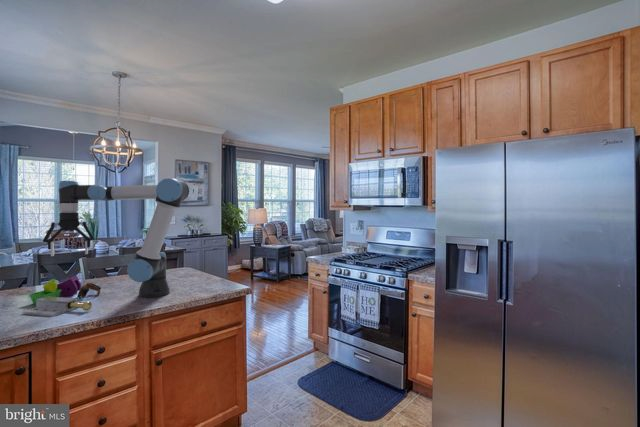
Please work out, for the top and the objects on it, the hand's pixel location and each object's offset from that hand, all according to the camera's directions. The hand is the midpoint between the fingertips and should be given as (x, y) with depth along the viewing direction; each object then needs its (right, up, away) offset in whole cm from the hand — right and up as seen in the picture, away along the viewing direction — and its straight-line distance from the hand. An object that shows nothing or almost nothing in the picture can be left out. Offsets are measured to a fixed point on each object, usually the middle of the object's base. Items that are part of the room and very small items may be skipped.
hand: (69, 255), depth 163 cm
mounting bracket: (-17, -24, +13) cm, 32 cm away
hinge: (+1, -24, -10) cm, 26 cm away
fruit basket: (-13, -24, +2) cm, 27 cm away
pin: (+10, -23, -12) cm, 28 cm away
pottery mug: (+1, -24, +11) cm, 26 cm away
